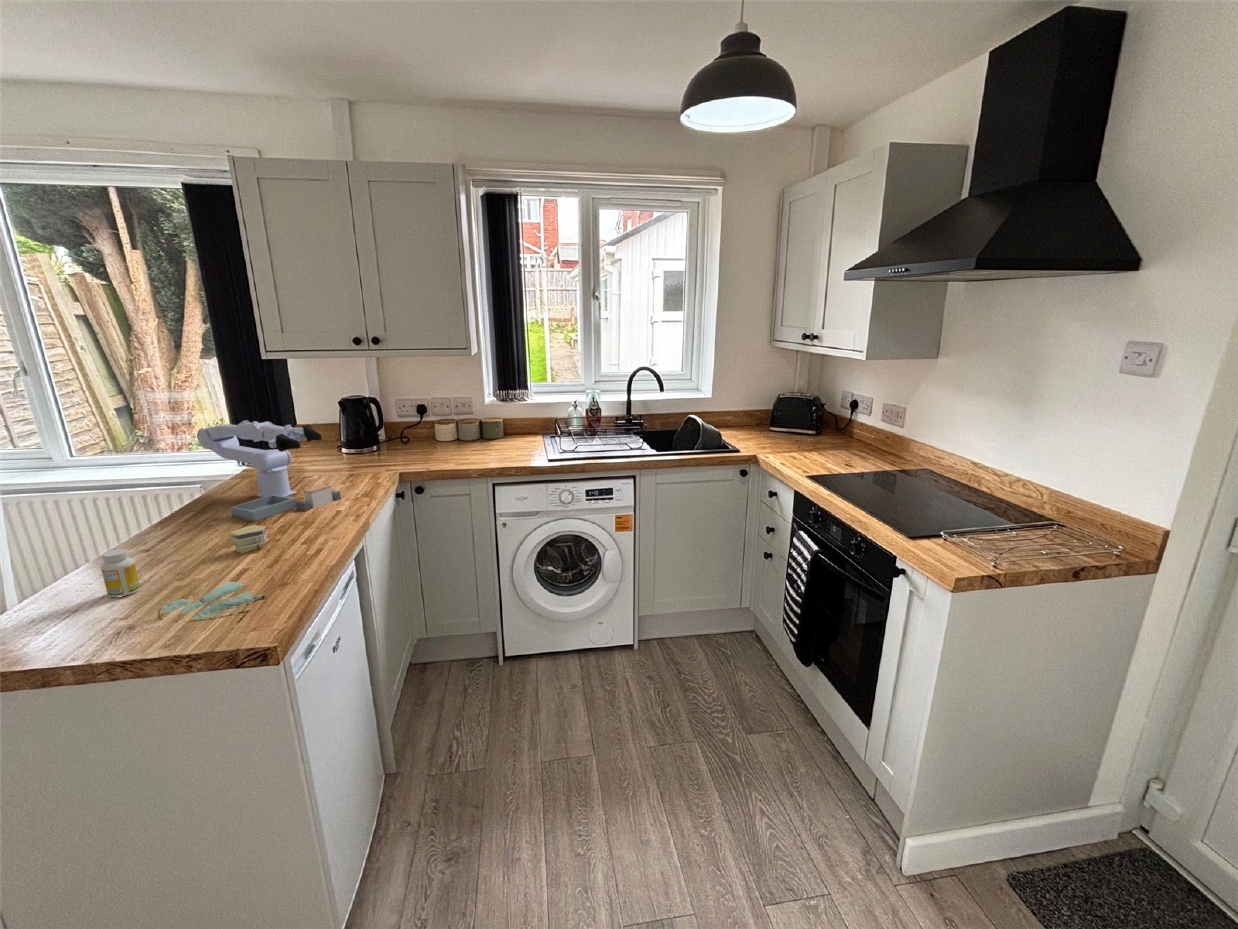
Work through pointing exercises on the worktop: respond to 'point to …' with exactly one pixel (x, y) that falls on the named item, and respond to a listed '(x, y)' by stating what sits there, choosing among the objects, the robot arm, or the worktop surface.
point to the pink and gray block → (318, 495)
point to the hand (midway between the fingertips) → (309, 440)
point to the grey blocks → (305, 505)
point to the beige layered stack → (249, 538)
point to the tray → (263, 507)
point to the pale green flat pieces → (215, 606)
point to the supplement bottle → (119, 573)
